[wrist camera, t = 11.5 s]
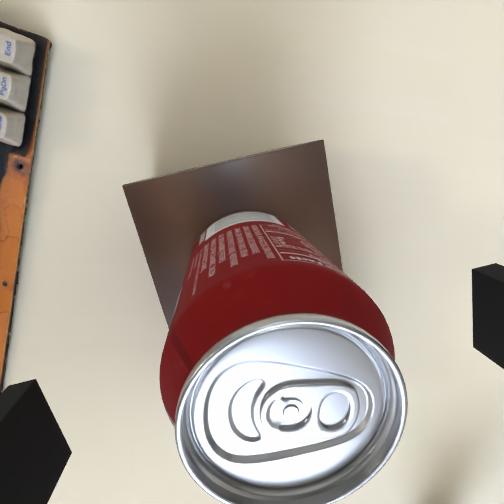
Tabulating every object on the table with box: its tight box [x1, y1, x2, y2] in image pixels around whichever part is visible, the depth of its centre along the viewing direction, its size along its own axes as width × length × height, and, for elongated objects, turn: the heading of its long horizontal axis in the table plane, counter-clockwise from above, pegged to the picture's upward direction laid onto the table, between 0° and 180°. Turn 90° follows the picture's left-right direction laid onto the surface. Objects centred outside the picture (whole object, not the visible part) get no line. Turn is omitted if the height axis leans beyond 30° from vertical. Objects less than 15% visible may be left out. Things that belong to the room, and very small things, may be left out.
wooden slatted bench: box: [123, 140, 343, 328], centre depth 25 cm, size 11×21×9 cm, turn 12°
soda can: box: [160, 211, 408, 504], centre depth 13 cm, size 7×7×12 cm
